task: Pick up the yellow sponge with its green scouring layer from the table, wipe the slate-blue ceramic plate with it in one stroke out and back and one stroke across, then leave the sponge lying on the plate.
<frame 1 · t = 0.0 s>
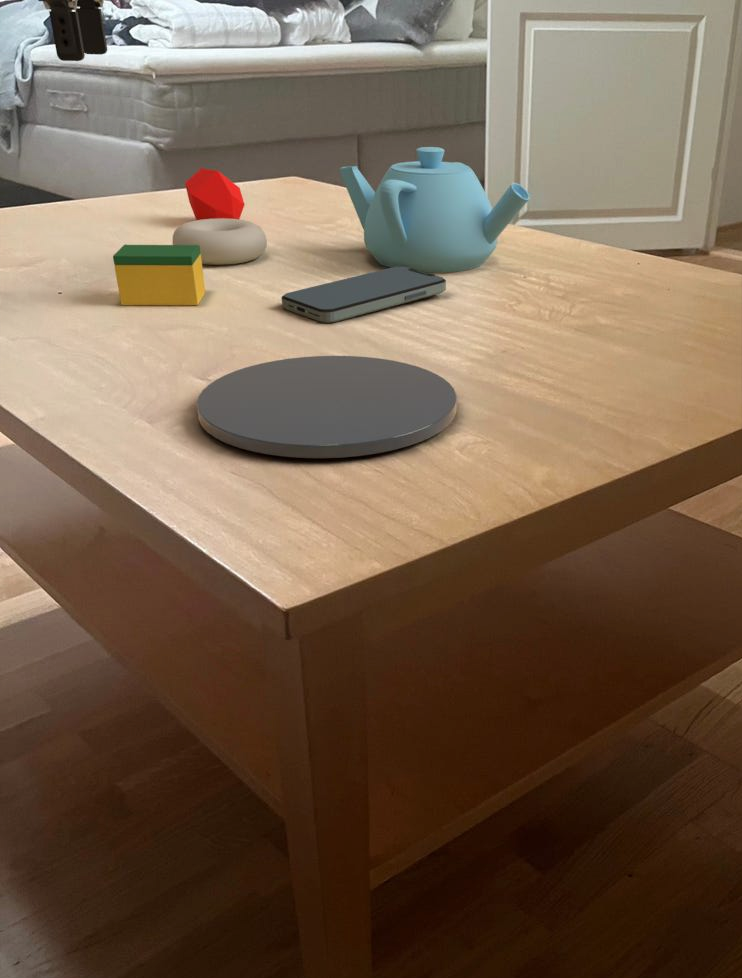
hand: (84, 57, 92), 19 cm above the table, tool pointing down, fingers open, 8 cm apart
sponge: (164, 298, 95), on the table
plate: (329, 411, 71), on the table
donut: (222, 259, 109), on the table
teapot: (433, 262, 110), on the table
smartphone: (366, 304, 95), on the table
faceted red jewel: (217, 225, 124), on the table
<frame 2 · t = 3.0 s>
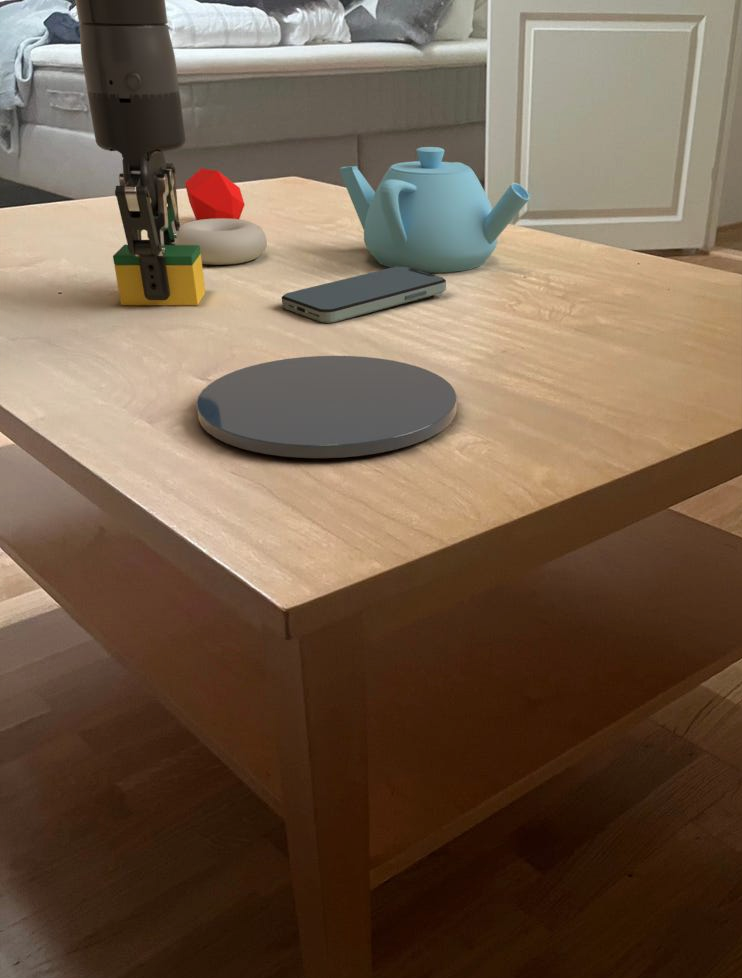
hand: (163, 290, 94), 1 cm above the table, tool pointing down, fingers closed on sponge, 4 cm apart
sponge: (164, 298, 95), on the table, touching gripper
everything else where it was.
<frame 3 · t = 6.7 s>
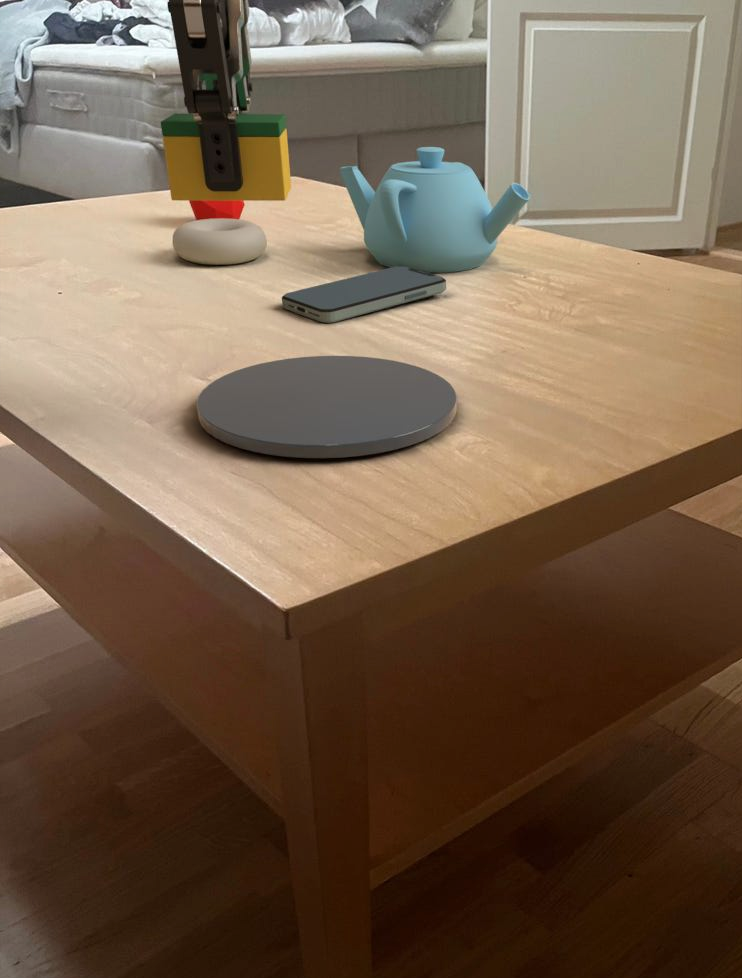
hand: (230, 181, 64), 15 cm above the table, tool pointing down, fingers closed on sponge, 4 cm apart
sponge: (233, 194, 64), point 14 cm above the table, touching gripper
everything else where it was.
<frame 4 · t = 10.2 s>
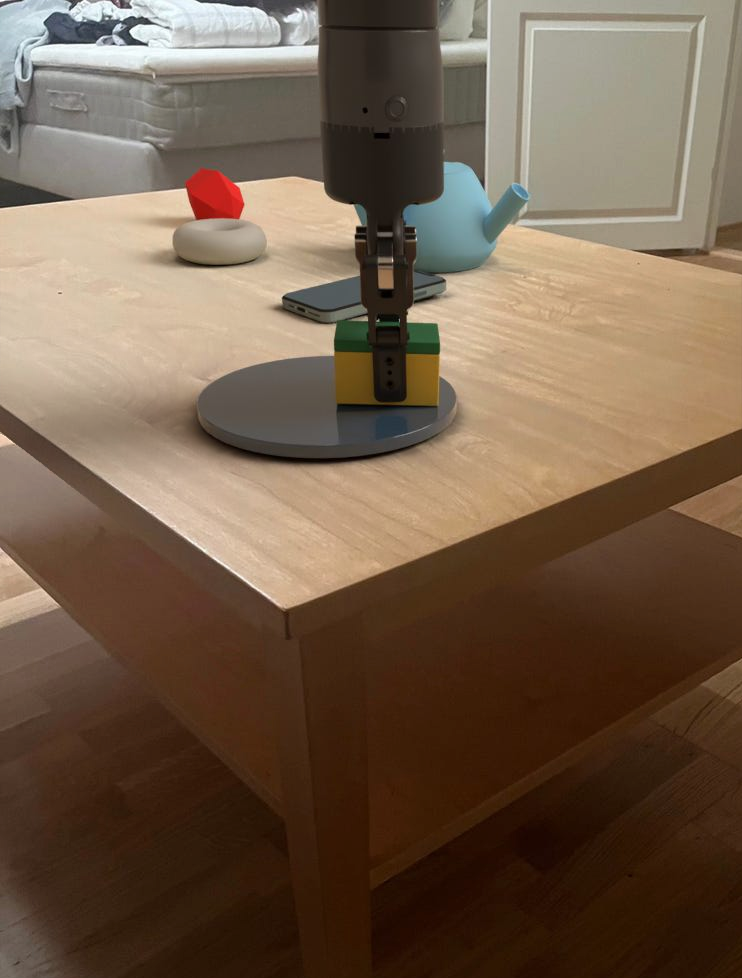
hand: (390, 386, 70), 2 cm above the table, tool pointing down, fingers closed on sponge, 4 cm apart
sponge: (387, 393, 70), point 1 cm above the table, touching gripper
everything else where it was.
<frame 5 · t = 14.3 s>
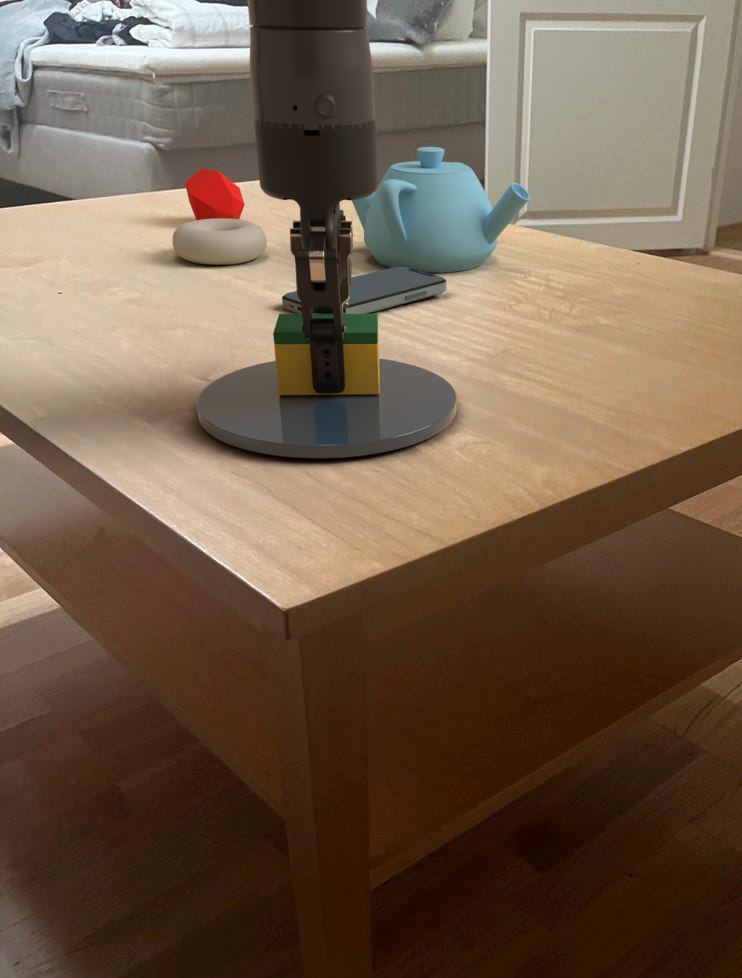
hand: (331, 377, 72), 2 cm above the table, tool pointing down, fingers closed on sponge, 4 cm apart
sponge: (330, 384, 72), point 1 cm above the table, touching gripper
everything else where it was.
when the fingers open (2 cm above the table, at t = 17.5 s): sponge stays where it is, resting on plate.
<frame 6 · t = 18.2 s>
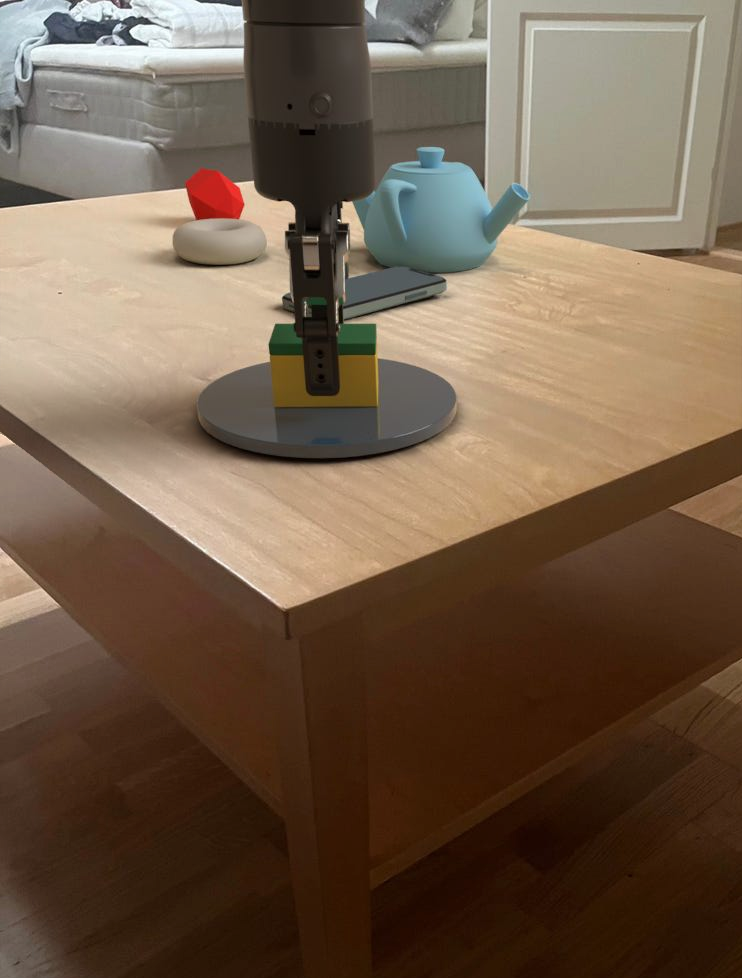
hand: (326, 372, 69), 3 cm above the table, tool pointing down, fingers open, 8 cm apart
sponge: (327, 395, 70), point 1 cm above the table, touching plate
everything else where it was.
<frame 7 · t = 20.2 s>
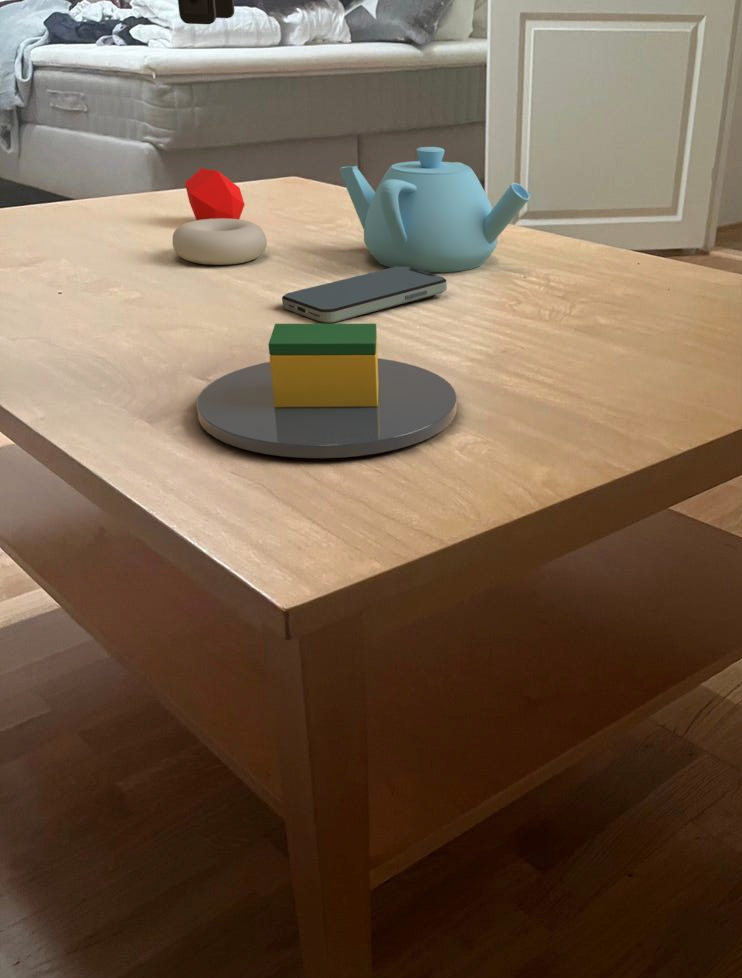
hand: (209, 20, 68), 23 cm above the table, tool pointing down, fingers open, 8 cm apart
nothing on the table moved.
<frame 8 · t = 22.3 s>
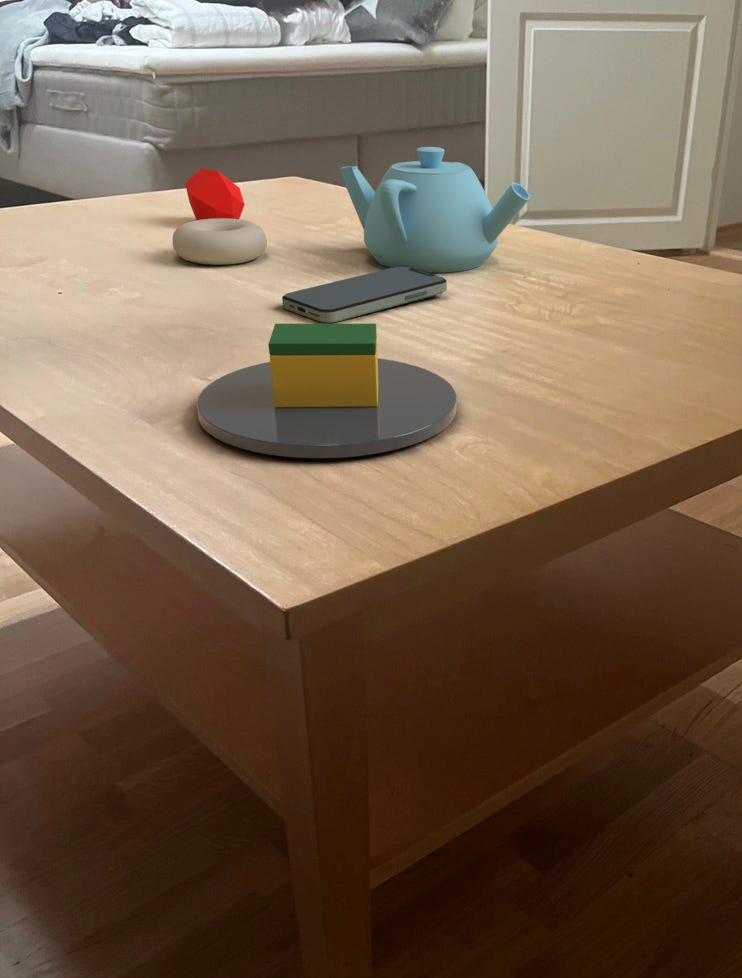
nothing on the table moved.
at the end: sponge inside the target area on the plate (0.1 cm from its centre), point 1.2 cm above the plate's base; the gripper is holding nothing; sponge moved 34.5 cm from its start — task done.
